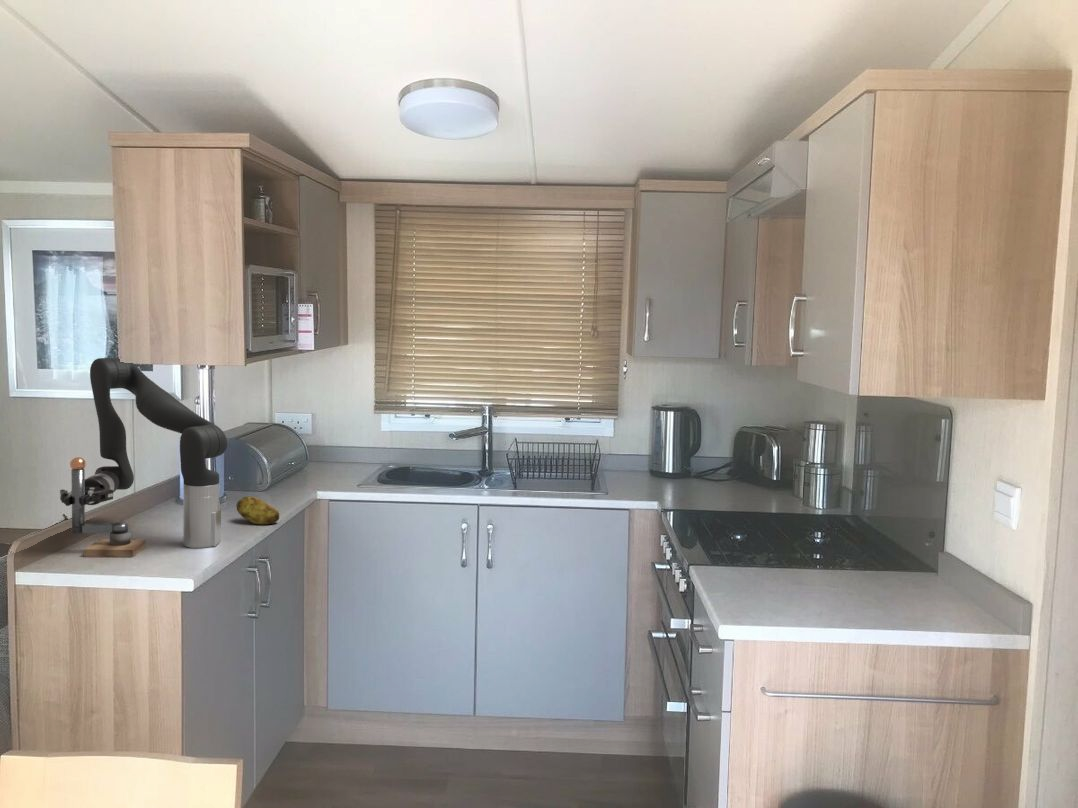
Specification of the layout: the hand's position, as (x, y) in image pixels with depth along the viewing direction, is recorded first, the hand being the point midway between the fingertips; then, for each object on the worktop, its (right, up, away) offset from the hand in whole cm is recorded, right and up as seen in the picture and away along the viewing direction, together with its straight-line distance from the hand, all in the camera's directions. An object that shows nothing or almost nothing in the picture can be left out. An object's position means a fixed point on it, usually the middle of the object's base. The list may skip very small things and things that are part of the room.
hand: (74, 501), depth 213 cm
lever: (+4, -8, +5) cm, 11 cm away
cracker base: (+8, -14, +5) cm, 17 cm away
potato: (+33, -12, +42) cm, 55 cm away
